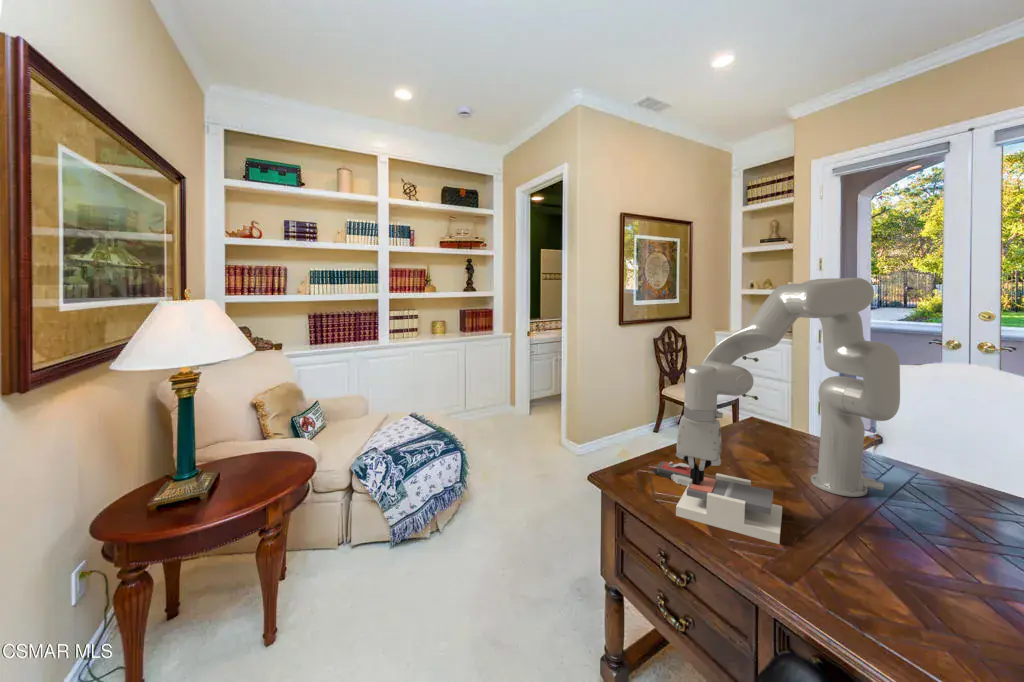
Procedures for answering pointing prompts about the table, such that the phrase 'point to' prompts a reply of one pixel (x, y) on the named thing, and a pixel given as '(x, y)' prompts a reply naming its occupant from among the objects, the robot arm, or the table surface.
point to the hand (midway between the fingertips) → (696, 482)
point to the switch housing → (732, 513)
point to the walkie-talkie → (675, 472)
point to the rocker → (734, 493)
